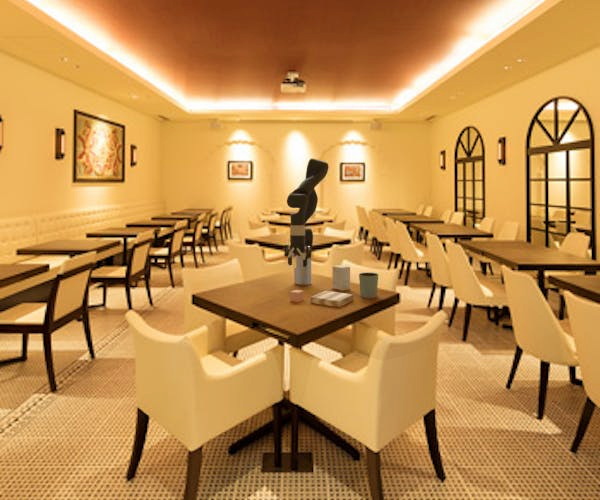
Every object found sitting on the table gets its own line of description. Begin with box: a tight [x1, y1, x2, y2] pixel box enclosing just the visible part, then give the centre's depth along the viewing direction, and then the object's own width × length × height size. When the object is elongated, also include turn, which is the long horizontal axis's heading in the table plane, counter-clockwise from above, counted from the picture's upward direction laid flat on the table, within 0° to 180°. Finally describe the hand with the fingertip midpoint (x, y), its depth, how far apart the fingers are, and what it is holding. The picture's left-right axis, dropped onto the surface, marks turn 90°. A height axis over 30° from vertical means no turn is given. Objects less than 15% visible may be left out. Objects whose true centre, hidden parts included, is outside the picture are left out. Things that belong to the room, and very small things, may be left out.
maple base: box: [310, 290, 354, 308], centre depth 236 cm, size 16×16×3 cm
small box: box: [332, 264, 351, 291], centre depth 263 cm, size 8×6×13 cm
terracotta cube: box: [289, 289, 305, 303], centre depth 237 cm, size 5×5×5 cm
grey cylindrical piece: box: [358, 272, 379, 299], centre depth 246 cm, size 10×10×12 cm
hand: (297, 265), depth 235 cm, fingers open, 8 cm apart
